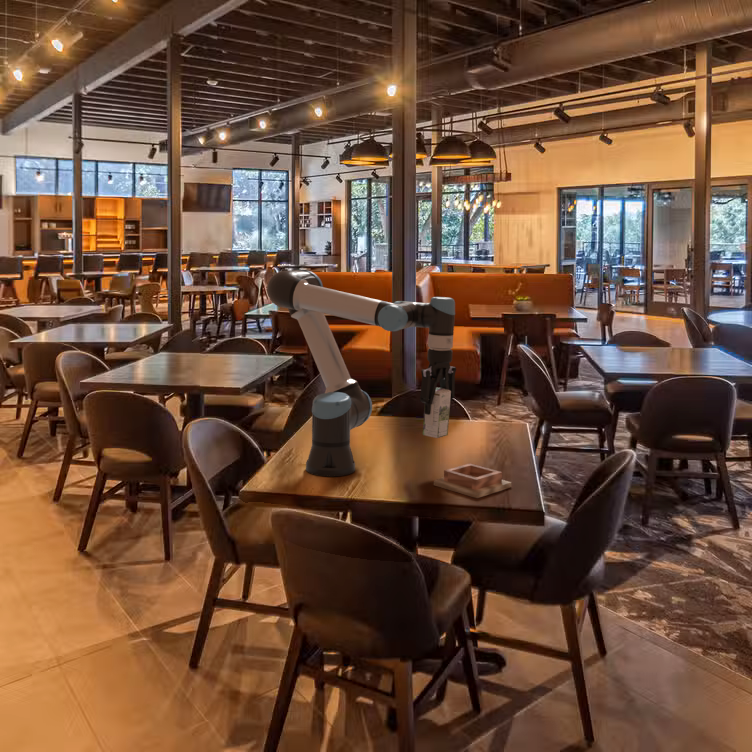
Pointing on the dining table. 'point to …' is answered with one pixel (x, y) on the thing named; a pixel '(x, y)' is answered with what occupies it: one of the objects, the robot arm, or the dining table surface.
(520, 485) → the dining table surface
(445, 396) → the syrup box
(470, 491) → the socket board
